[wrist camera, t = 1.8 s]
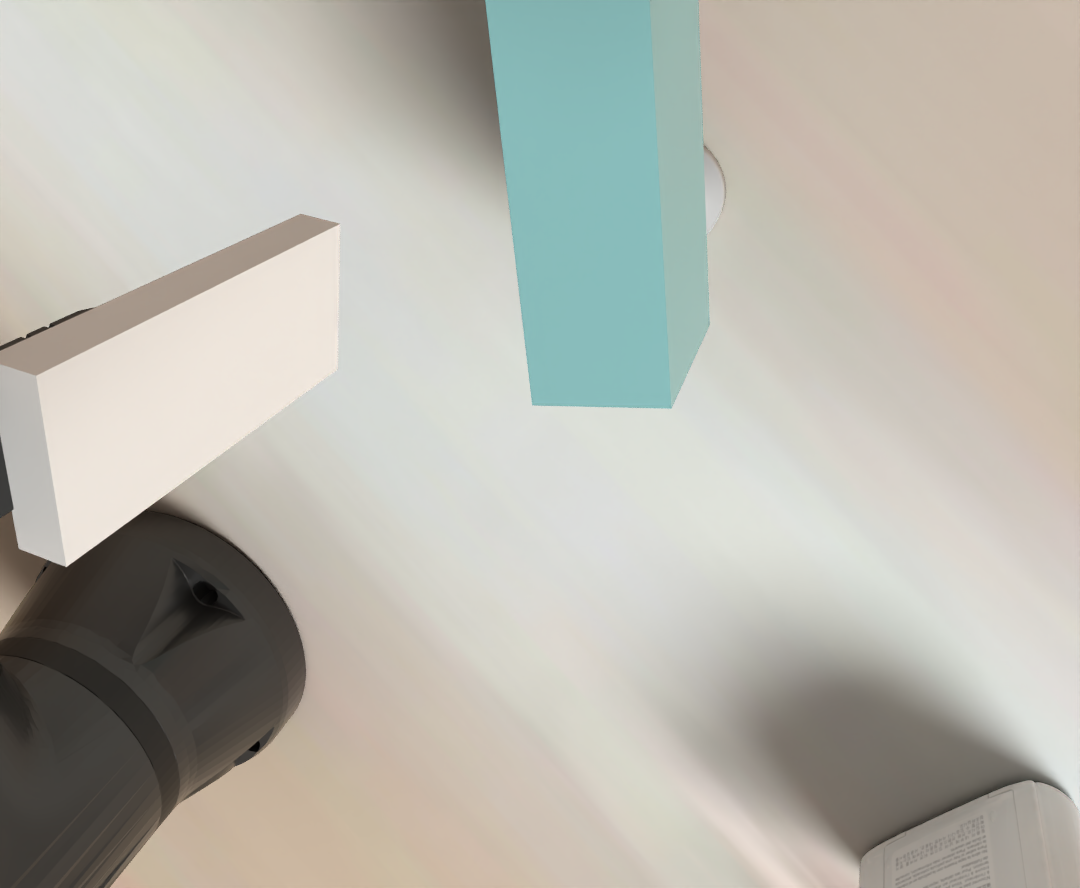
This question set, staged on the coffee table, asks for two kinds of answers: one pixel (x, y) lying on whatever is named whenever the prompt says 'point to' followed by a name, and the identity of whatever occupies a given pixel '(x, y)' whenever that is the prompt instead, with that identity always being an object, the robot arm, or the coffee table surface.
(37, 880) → the robot arm
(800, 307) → the coffee table surface
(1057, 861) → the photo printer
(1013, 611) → the coffee table surface
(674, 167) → the block with headed pegs
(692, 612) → the coffee table surface
